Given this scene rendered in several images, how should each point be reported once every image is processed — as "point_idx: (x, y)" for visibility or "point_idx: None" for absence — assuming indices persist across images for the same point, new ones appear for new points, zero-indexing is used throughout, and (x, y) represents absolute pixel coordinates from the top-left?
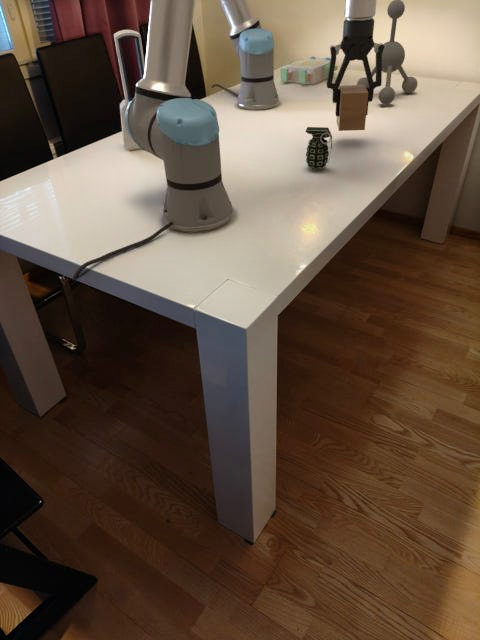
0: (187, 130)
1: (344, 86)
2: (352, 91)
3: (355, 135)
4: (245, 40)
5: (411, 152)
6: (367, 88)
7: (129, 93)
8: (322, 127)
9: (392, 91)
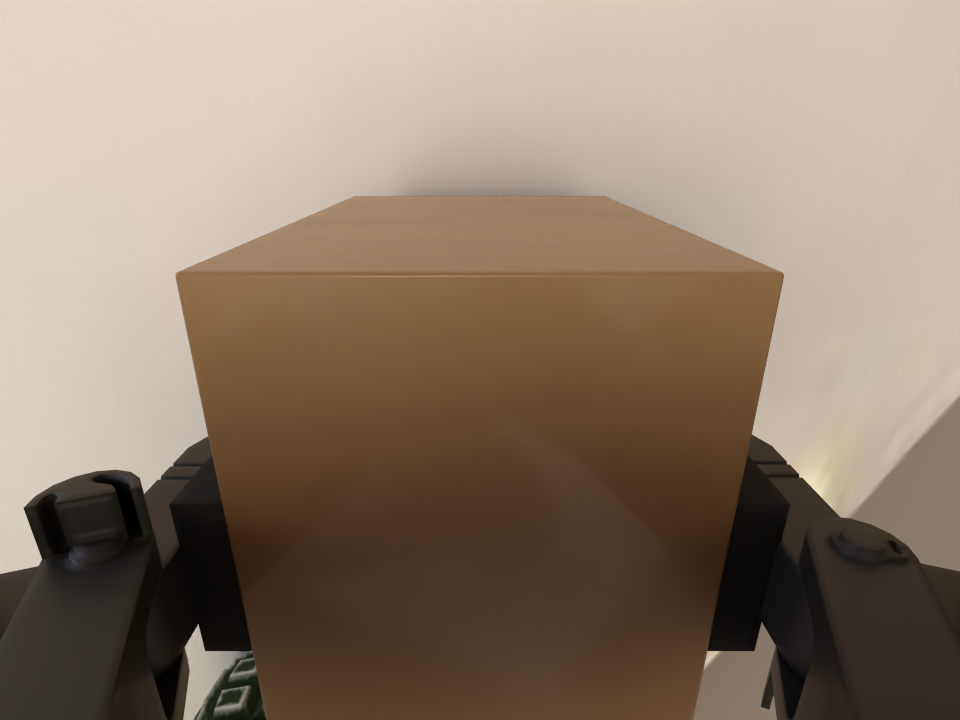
0: None
1: (312, 381)
2: (450, 706)
3: (561, 89)
4: None
5: (840, 479)
6: (746, 568)
7: None
8: None
9: None
